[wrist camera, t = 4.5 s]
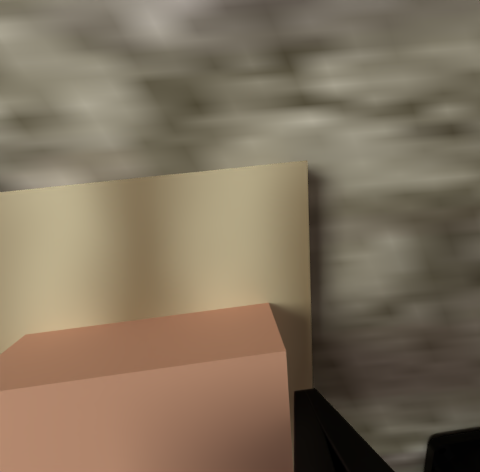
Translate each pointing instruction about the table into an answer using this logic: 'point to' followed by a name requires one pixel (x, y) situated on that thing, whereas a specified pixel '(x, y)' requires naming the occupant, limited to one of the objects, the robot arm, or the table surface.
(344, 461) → the robot arm
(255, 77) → the table surface
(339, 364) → the table surface
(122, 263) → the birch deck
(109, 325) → the coral tile
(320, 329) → the table surface
